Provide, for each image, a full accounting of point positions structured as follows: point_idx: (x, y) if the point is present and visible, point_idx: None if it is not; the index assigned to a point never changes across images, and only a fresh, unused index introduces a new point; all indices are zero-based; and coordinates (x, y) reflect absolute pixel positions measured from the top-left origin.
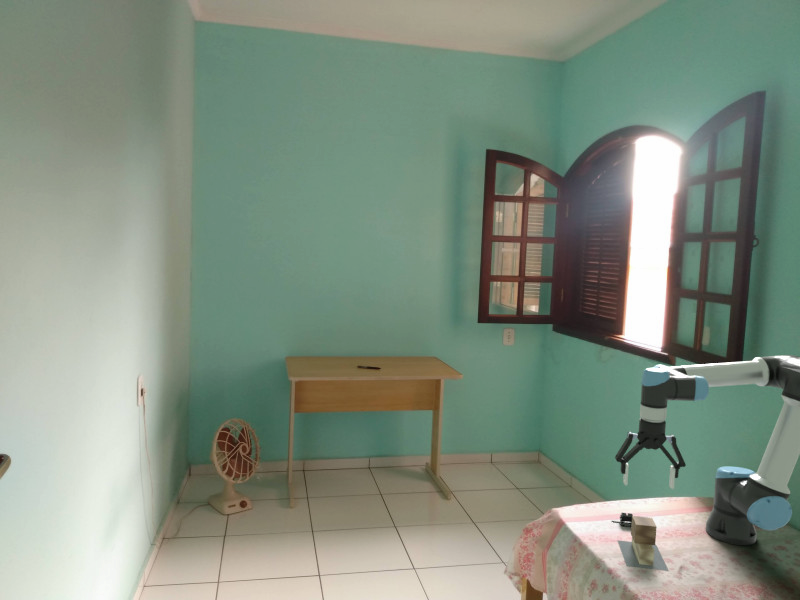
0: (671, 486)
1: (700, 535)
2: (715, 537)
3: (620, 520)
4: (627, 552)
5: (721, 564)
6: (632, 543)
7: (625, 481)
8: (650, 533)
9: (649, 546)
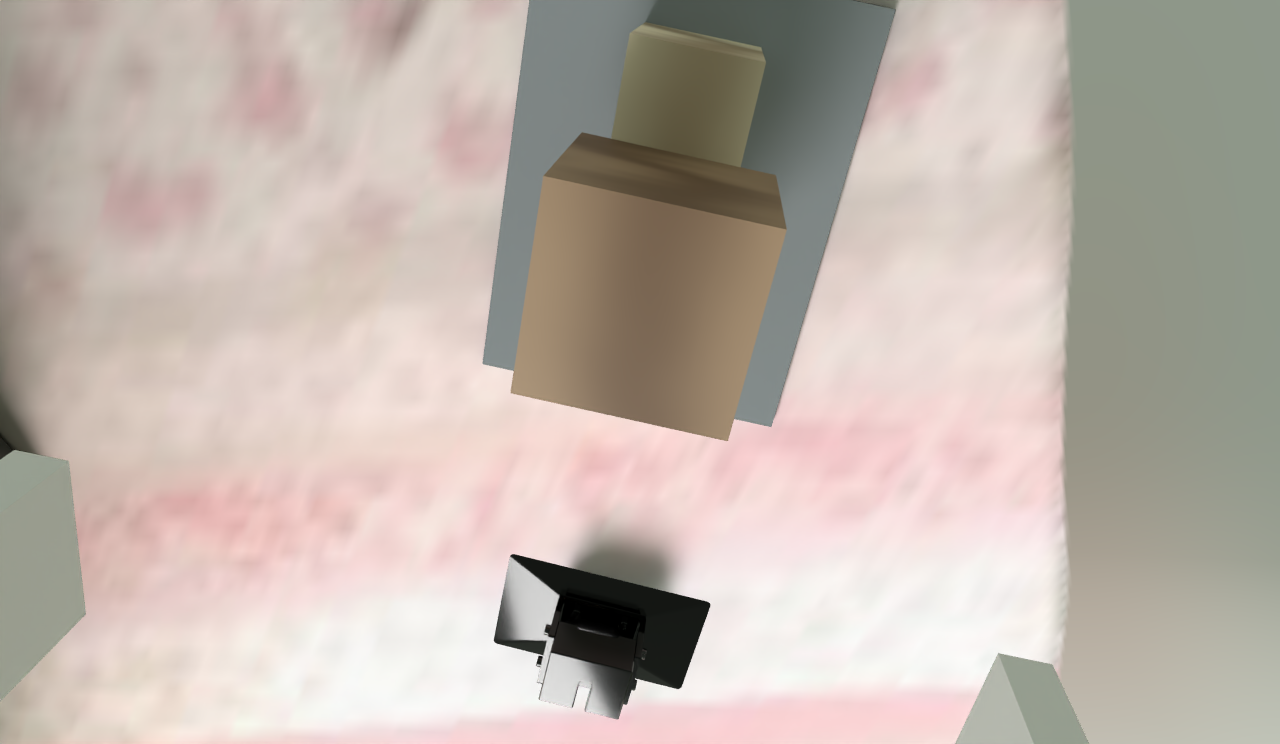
0: (24, 497)
1: (108, 493)
2: (7, 454)
3: (645, 652)
4: None
5: (56, 82)
6: None
7: (1076, 732)
8: (620, 168)
9: (650, 106)
